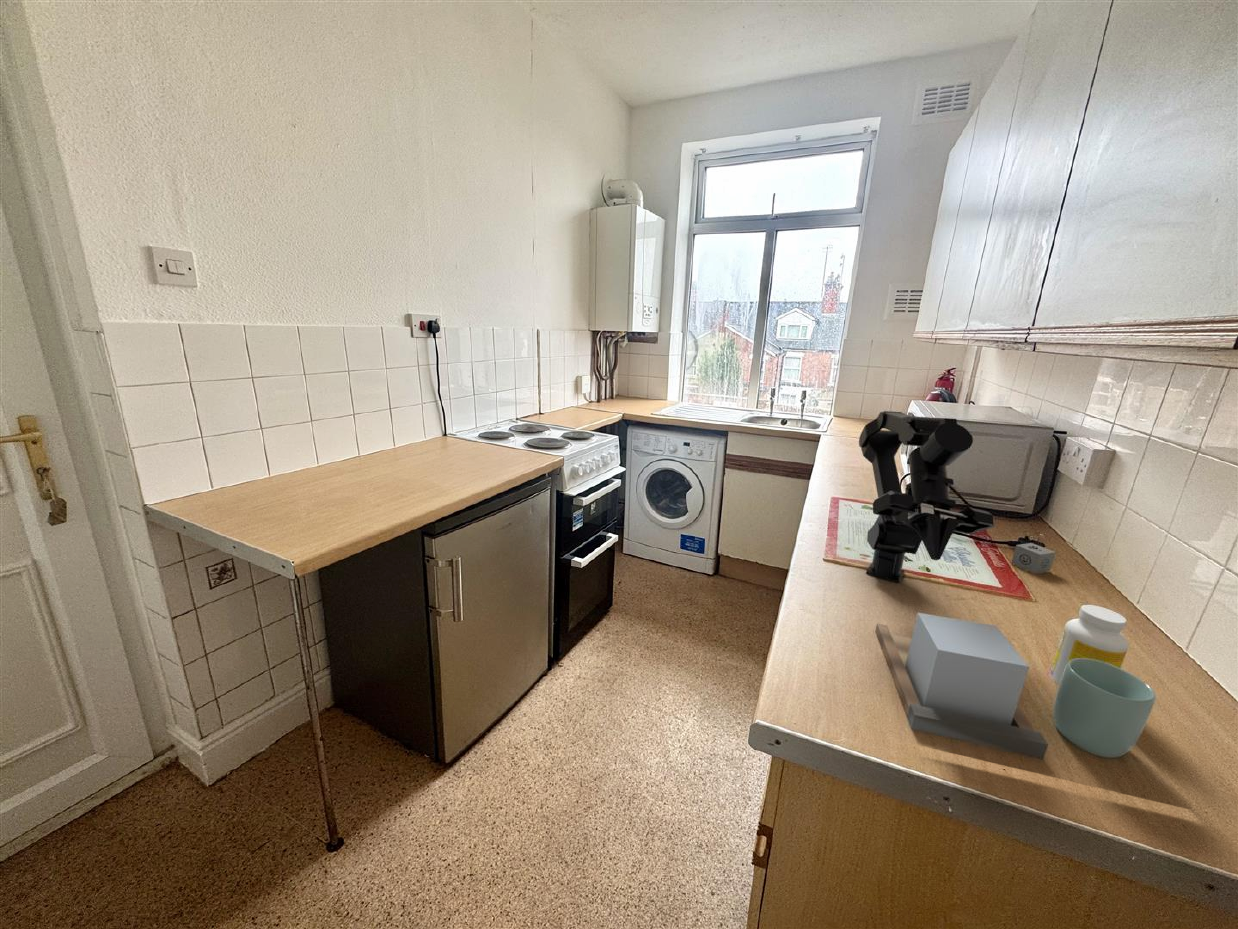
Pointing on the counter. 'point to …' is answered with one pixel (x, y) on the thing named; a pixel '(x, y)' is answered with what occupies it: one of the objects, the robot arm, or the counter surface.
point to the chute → (950, 724)
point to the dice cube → (1033, 558)
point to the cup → (1101, 707)
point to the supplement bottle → (1091, 639)
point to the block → (965, 668)
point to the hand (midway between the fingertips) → (935, 559)
